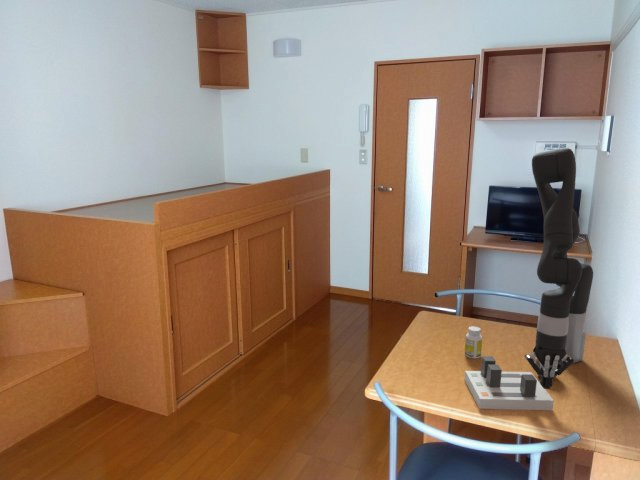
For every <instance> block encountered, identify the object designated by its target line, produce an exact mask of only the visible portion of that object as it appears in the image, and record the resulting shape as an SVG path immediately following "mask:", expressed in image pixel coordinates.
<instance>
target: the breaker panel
mask: <svg viewBox="0 0 640 480" xmlns="http://www.w3.org/2000/svg"><path fill="white" fill-rule="evenodd" d="M496 363H497V361H496V360H495V358H494V356H492V355H481V366H480V367H481V369H480V370H464V371H465V372H464V382H465V383H466V385H467V387H468V389H469V391H470V393H471V396H472V397H473V399H474V402H475V403H476V405H477V407H478V409H480V410H522V411H526V410H527V411H533V410H534V411H553V409H554V402H555V400H554V399H553V397H552V396H551V395H550V394H549V392H548V391H547V389H544V388H543V387H542V386H541V385H540V380H538V379H537V378H536V377H535V374H533V372H531V371H502V370H503V369H502V368H501V367H500V365H499V364H496ZM522 374H530V375H533V376H534V377H535V378H536V380H537V384H536V393H535V397H524V396H523V394H522V393H521V391H520V384H521V375H522Z"/></svg>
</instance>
